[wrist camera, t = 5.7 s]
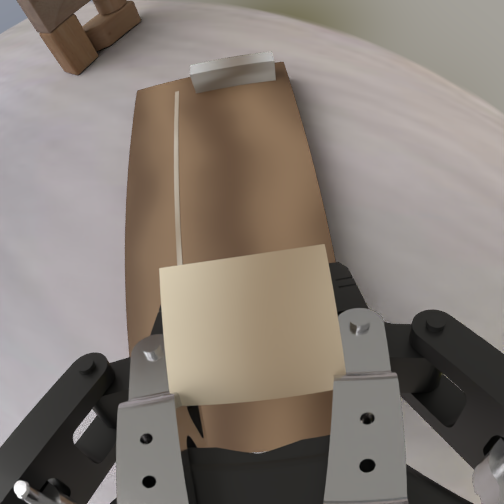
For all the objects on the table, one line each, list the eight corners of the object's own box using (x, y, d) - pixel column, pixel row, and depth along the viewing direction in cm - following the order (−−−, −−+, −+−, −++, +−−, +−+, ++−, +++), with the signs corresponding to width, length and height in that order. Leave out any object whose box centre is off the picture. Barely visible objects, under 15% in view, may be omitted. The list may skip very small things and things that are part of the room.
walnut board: (155, 444, 17) (127, 462, 13) (145, 105, 25) (128, 74, 21) (353, 427, 16) (370, 445, 12) (284, 79, 24) (282, 42, 20)
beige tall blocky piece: (194, 378, 15) (92, 404, 6) (188, 318, 16) (85, 278, 7) (335, 361, 14) (402, 373, 6) (326, 300, 15) (377, 236, 7)
